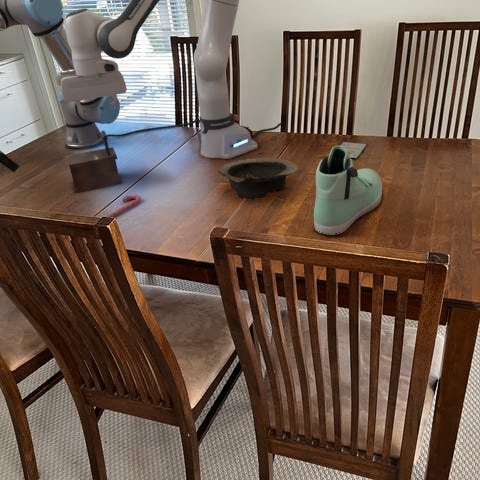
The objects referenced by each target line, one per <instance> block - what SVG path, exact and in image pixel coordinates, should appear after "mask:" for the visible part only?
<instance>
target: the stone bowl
mask: <svg viewBox="0 0 480 480" xmlns="http://www.w3.org/2000/svg"><path fill="white" fill-rule="evenodd" d="M298 170H299V169H298V167H297V166H296V164H295V163H293V162H291V161H289V160H287V159H281V158H272V157H271V158H269V157H255V158H243V159H239V160H235V161H232V162H231V161H230V162H228V163H225V164H223V165H222V166H221V168H220V169H219V170H217V173H219V174H220V175H221V176H223V177H224V178H226V179H227V180H228V182H229V186H230V188H231V190H232V191H234V192H235V193H236V196H237V198H239V199H241V200H243V199H245V200H251V201H252V200H255V199H257V200H262V199H264V198H266V197H267V196H268V193H269V194H273V193H281V192H282V191H284V190H285V189H284V188H285V185H286V183H287V182H286V181H287V177H289V176H290V175H292V174H294V173H296V172H297V171H298Z"/></svg>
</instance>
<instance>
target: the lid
mask: <svg viewBox="0 0 480 480" xmlns="http://www.w3.org/2000/svg"><path fill="white" fill-rule="evenodd" d="M100 132H101V135H102V137H103V144H104V148H101V149H95V150H89V151H84V152H79V153H73V154H68V155H66V156H67V162H68V167H69V169H70V168H74V167H79V166H85V165H90V164H95V163H100V162H105V161H110V160H118V155H117V153H116V151H115V148H114V146H110V147H109V143H108V140H109V137H107V135H108V134H107V132H106V131H105V130H100Z"/></svg>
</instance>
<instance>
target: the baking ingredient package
mask: <svg viewBox="0 0 480 480" xmlns="http://www.w3.org/2000/svg"><path fill="white" fill-rule="evenodd" d="M340 146H342V147H344V148H345V149H346V150H347V152H348V153H349V156H350V159H352V158H354V159H357V158H358V157H359V155H360V154H361V153H362V151H363V150H364V149H365V147H366V146H367V143H358V142H347V141H343V142H342V143H341V144H340Z"/></svg>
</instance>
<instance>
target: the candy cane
mask: <svg viewBox="0 0 480 480" xmlns="http://www.w3.org/2000/svg"><path fill="white" fill-rule="evenodd" d="M130 200H132V201H130ZM121 201H122V202H123V203H126V202H127V201H129V203H127V204H124V205H123V206H121V207H118V209H115V210H114V211H112V212H110V213H108V214H106V217H107V216H108V217H113V218H114V217H116V216H118V215H120V214H122V213H123V212H125V211H127V210H129V209H130V208H132V207H134V206H136V205H138V204H140V202H141V201H142V198H141V196H140V195H138V194H128V195H125V196H124V197H122V199H121Z"/></svg>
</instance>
